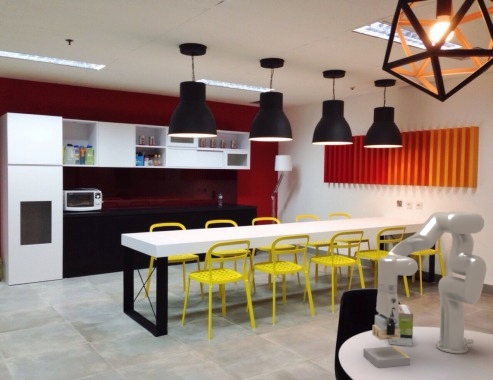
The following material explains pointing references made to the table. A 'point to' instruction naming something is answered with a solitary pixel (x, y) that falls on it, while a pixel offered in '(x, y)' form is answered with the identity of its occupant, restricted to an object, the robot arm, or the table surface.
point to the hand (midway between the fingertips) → (386, 331)
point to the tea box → (404, 327)
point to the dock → (386, 357)
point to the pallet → (384, 334)
